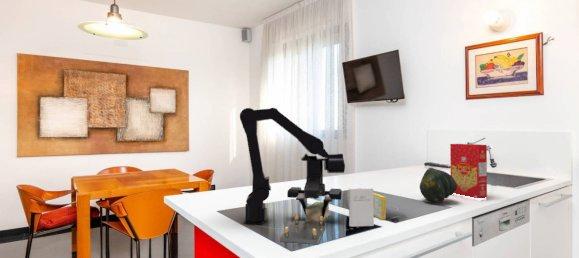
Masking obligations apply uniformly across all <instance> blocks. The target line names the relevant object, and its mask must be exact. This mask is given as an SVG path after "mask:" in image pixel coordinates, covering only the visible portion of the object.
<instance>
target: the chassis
mask: <svg viewBox="0 0 579 258" xmlns="http://www.w3.org/2000/svg"><path fill="white" fill-rule="evenodd" d="M299 218H300V217H299V214H297V213H295V214H294V220H293V221H292V222H291V223H290V225H288V226H286V225H285V226H284V232H283V233H282V235H281V236H280V240H279V241H280V242H281V243H282V242H283V243H292V244H293V243H297V244H308V245H310V244H311V245H319V244H320V242H321V239H322V236H323V233H324V231H325V230H326V226H327V222H326V221H324V220H323V216H319V222H312V221H306V220H299Z"/></svg>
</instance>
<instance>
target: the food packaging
mask: <svg viewBox="0 0 579 258" xmlns="http://www.w3.org/2000/svg"><path fill="white" fill-rule="evenodd" d="M449 146H450V147H449V148H450V153H449V155H450V160H449V161H450V175H451V176H452V177H453V178H454V180H455V181H456V184H457V189H456V191H455V192H454V193H456V194H460V195H465V196H470V197H474V198H485V197H487V198H488V181H487V180H488V178H487V177H488V172H487V171H488V170H487V169H488V166H487V165H488V161H487V159H488V158H487V144H476V143H475V144H472V143H450V144H449Z"/></svg>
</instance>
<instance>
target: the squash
mask: <svg viewBox="0 0 579 258" xmlns="http://www.w3.org/2000/svg"><path fill="white" fill-rule="evenodd" d="M456 189H457V184H456V181H455V180H454V178H453V177H452V176H451V174H449V173H448V172H447V171H444V170H441V169H437V168H434V167H429V168H427V169H426V171H425V172H424V174H423V175H422V178H421V180H420V183H419V190H420V194H421V195H422V197H423V198H425V200H426V201H428V202H431V201H432V203H440V202H443V201H444V200H445V199H447V198H449V197H450V196H453V195H452V194H453V193H454V192H455V191H456Z"/></svg>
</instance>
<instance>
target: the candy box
mask: <svg viewBox="0 0 579 258" xmlns="http://www.w3.org/2000/svg"><path fill="white" fill-rule="evenodd" d="M373 200H374V218H377V219H379V220H381V221H385V220H386V218H387V217H386V216H387V215H386V214H387V213H386V212H387V209H386V208H387V197H386V196H384V195H381V194H378V193H376V192H373Z"/></svg>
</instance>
